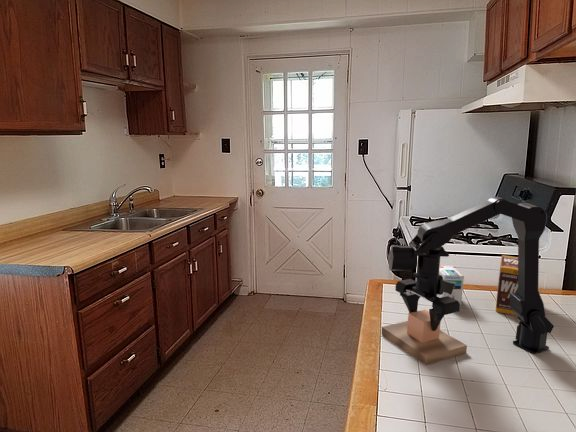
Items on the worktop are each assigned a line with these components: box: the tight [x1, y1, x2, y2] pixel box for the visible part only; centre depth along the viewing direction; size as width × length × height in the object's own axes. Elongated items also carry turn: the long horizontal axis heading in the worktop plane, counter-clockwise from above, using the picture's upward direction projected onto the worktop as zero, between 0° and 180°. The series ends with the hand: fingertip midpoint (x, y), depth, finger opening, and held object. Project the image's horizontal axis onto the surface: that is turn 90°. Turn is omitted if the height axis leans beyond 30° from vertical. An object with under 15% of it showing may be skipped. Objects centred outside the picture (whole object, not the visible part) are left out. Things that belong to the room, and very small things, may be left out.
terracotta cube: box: [407, 309, 441, 343], centre depth 114 cm, size 6×6×6 cm
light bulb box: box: [437, 265, 465, 306], centre depth 145 cm, size 11×7×11 cm, turn 179°
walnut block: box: [381, 320, 468, 366], centre depth 115 cm, size 18×14×3 cm
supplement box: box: [495, 255, 518, 316], centre depth 139 cm, size 10×15×16 cm
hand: (423, 324), depth 114 cm, fingers open, 7 cm apart
